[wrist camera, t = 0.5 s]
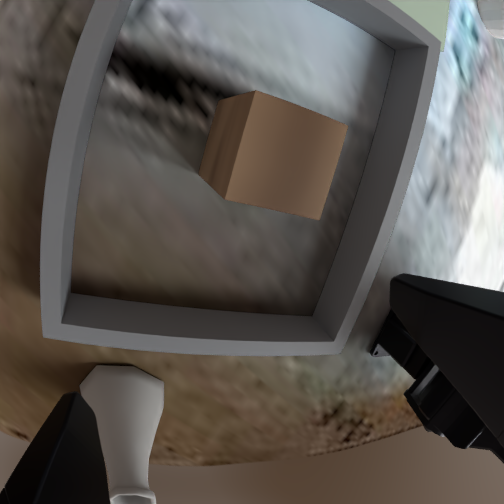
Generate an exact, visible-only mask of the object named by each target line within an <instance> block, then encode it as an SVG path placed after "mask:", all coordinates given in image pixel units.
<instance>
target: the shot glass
mask: <svg viewBox="0 0 504 504" xmlns="http://www.w3.org/2000/svg"><path fill="white" fill-rule="evenodd" d="M477 4H478V9H479V13H480V16H481V19H482V21H483V23H484V25H485V27H486V29H487V30H488V32H489V33H490V34H491V35H492V36H493V37H495V38H499V39H504V0H478V2H477Z"/></svg>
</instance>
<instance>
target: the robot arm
mask: <svg viewBox="0 0 504 504" xmlns="http://www.w3.org/2000/svg"><path fill="white" fill-rule="evenodd" d="M390 306H391V308H392V309H391V311H390V314H389V316H388V318H387V320H386V322H385V324H384V326H383V328H382V330H381V332H380V334H379V336H378V338H377V340H376V342H375V344H374V346H373V348H372V350H371V352H370V354H371V355H372V356H373V357H380V356H391V357H392V358H393V359H394V360H395V361H396V362H397V363H398V364H399V365H400V366H401V367H403V368H404V369H405V370H406V371H407V372H408V373H409V374H410V375H411V376H412V377H413V378H414V379H416V381H415V382H414V383H413V384H412V385H411V387H410V388H409V389H407V390H406V391H405V392H404V396H405V397H406V398H407V402H408V403H409V405H410V406H411V407H412V409H413V410H414V412H415V413H416V415H417V416H418V418H419V419H420V421H421V422H422V424H423V426H424V428H425V430H426V431H428V432H434V433H435V434H438V435H439V436H443V437H444V436H446V437H447V438H448V440H449V441H450V442H451V443H452V444H453V445H454V446H455V447H458V448H462V449H466V448H468V447H470V448H477V449H485V450H490V451H492V452H493V453H494V454H495V455H496V456H497V457H498V458H499V459H500V460H501V461H502V462H503V463H504V292H500V291H495V290H490V289H485V288H479V287H474V286H469V285H464V284H458V283H453V282H448V281H443V280H437V279H432V278H427V277H421V276H416V275H411V274H405V273H402V274H399V275H397V276H395V277H393V278H392V279H391V281H390ZM0 504H111V503H110V497H109V491H108V483H107V475H106V468H105V462H104V457H103V452H102V447H101V442H100V437H99V431H98V426H97V420H96V416H95V413H94V411H93V410H92V408H91V407H90V406H89V405H88V403H87V402H86V401H85V400H84V398H83V397H82V396H81V395H80V394H79V393H78V392H75V391H74V392H70V393H66V394H64V395H63V396H62V397H61V399H60V400H59V402H58V403H57V404H56V406H55V407H54V409H53V410H52V412H51V413H50V415H49V416H48V418H47V419H46V421H45V422H44V424H43V425H42V427H41V428H40V430H39V431H38V433H37V434H36V436H35V437H34V439H33V441H32V442H31V444H30V445H29V447H28V448H27V450H26V451H25V453H24V455H23V456H22V458H21V459H20V461H19V463H18V464H17V466H16V468H15V469H14V471H13V472H12V474H11V476H10V478H9V479H8V481H7V483H6V484H5V488H3V490H2V491H1V493H0Z"/></svg>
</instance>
